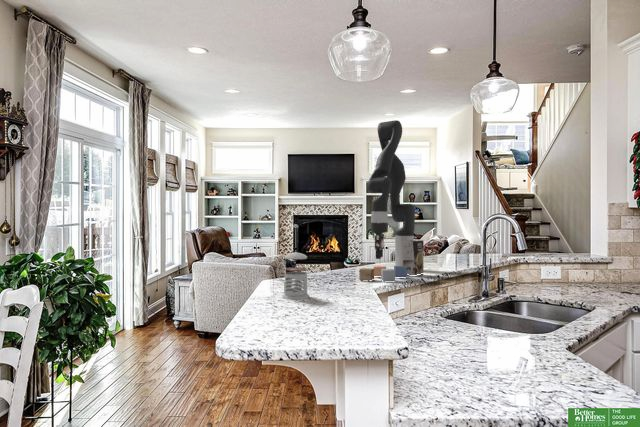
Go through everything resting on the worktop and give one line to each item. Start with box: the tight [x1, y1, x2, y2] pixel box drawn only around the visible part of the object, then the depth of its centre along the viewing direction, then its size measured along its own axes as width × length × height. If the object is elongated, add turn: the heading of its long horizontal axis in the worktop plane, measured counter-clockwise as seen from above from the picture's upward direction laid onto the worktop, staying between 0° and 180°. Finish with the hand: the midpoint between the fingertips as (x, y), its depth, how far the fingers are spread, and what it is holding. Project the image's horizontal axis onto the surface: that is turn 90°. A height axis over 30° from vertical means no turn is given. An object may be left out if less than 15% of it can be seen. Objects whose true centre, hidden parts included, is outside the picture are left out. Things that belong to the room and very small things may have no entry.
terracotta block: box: [373, 265, 387, 276], centre depth 201 cm, size 5×5×5 cm
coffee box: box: [403, 239, 425, 275], centre depth 206 cm, size 9×6×16 cm
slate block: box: [380, 268, 396, 282], centre depth 189 cm, size 5×5×5 cm
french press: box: [276, 223, 311, 300], centre depth 155 cm, size 10×12×25 cm
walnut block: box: [358, 267, 375, 281], centre depth 191 cm, size 5×5×5 cm
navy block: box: [393, 265, 408, 278], centre depth 199 cm, size 5×5×5 cm
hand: (379, 258), depth 201 cm, fingers open, 8 cm apart
